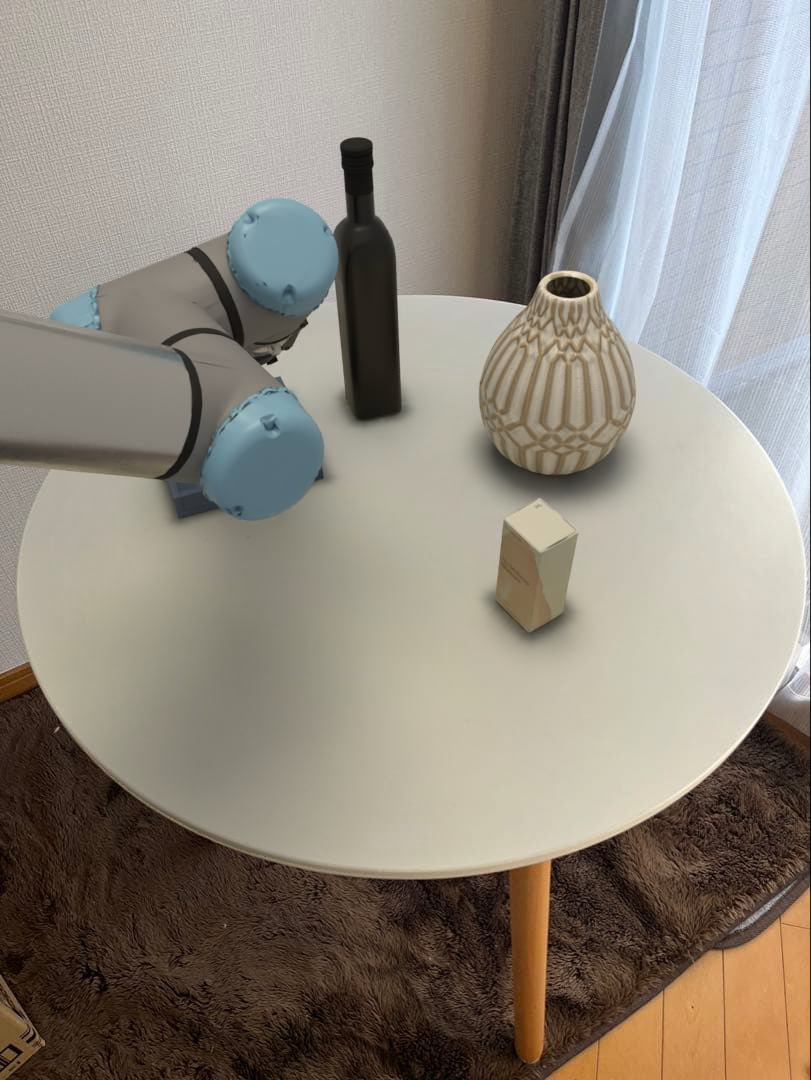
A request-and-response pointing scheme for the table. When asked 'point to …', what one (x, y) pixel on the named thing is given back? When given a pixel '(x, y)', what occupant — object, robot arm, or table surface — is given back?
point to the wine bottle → (366, 292)
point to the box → (535, 564)
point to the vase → (558, 380)
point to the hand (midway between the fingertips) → (209, 377)
